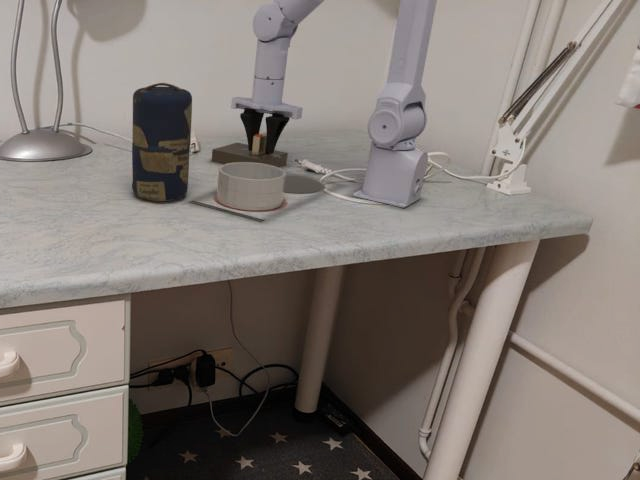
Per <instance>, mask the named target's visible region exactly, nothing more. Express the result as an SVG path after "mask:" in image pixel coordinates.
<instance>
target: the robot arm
mask: <svg viewBox="0 0 640 480" xmlns="http://www.w3.org/2000/svg"><path fill="white" fill-rule="evenodd" d="M324 2H325V0H273V2H272V3H271V4H270V3H269V4H268V3H267V4H263V5H261V6H259V8H258V9H257V10H256V12H255V14H254V16H253V19H252V30H253V34H254V36H255V37H256V38H257V41H256V49H255V50H256V51H255V52H256V53H255V61H254V70H253V71H254V72H253V73H254V74H253V83H252V91H251V97H243V96H234V97H231V103H230V108H231V109H233V110H234V109H235V110H237V109H239V110H243V112H241V113H240V114H239V118H240V120H241V122H242V124H243V127H244V130H245V134H246V140H247V145H248V148H249V151H252V147H253V137H254V136H255V134H260V131H261V127H262V122H263V119H264V116H265V114H268V115H269V116H266V117H265V128H266V129H265V130H266V133H267V137H266V146H265V154H267V155H269V154H272V153H274V150H276V146H277V143H278V141H279V139H280V137H281V134H282V132H283V131H284V129H285V127H286V126H287V125H288V123H289V122H290V119H292V120H300V119H302V116H303V109H304V107H303V106H298V105H292V104H289V103H285V102H283V94H284V89H285V88H284V86H285V80H286V79H285V78H286V71H287V64H288V63H287V62H288V55H289V48H290V46H291V41H292V38H293V37H294V36H295V34H296V33H297V30H298V29H299V28H298V27H299V24H301V23H302V22H303V21H304V20H305V19H306V18H307V17H308V16H309V15H310V14H312V13H313V12H314V11H315V10H316V9H317V8H318V7H319V6H321V5H322V4H323V3H324ZM437 2H438V0H400V1H399V7H398V11H397V19H396V25H395V30H394V36H393V43H392V47H391V49H392V50H391V55H390V59H389V60H390V61H389V66H388V74H387V79H386V84H385V86H384V87H383V89H382V90H381V92H380V93H379V95H378V97H377V99H376V104H375V108H374V111H372V114H371V115H370V117H369V119H368V121H367V134H368V137H369V138H370V140H371V141H370V142H371V143H370V148H369V153H368V159H367V163H366V169H365V174H364V179H363V184H362V188H361V189H359V190H356V191H355V192H353V193H352V196H353V197H355V198H360V199H364V200H369V201H373V202H376V203H381V204H386V205H389V206H394V207H399V208H402V209H403V208H407V207H408V206H410V205H411V204H413V203H415V202H417V201H418V200H420V199H422V196H421V193H422V188H423V185H424V181H425V177H426V171H427V169H428V168H427V167H428V161H429V154H428V152H426V151H425V150H424V151H423V150H419V149H418V148H416V146H417V138H418V137H419V136H420V135H422V133H423V132H424V131H425V129H426V127H427V123H428V115H427V111H426V100H427V94H426V92H425V90H424V89H423V86H422V81H423V76H424V71H425V67H426V61H427V56H428V55H427V54H428V49H429V44H430V39H431V34H432V29H433V23H434V19H435V18H434V17H435V12H436V7H437Z"/></svg>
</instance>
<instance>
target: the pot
mask: <svg viewBox="0 0 640 480" xmlns="http://www.w3.org/2000/svg"><path fill="white" fill-rule="evenodd" d="M286 175H287V172H286V170H284V169H283V168H282V167H276V166H273V165H268V164H263V163H254V162H235V163H228V164H221V165H220V166H219V167H218V171H217V186H216V194H217V201H218V202H220V203H221V204H223V205H225V206H228V207H231V208H236V209H242V210H252V211H261V210H270V209H275V208H277V207H279V206H281V204H282V201H283V199H284V194H285V193H284V187H285V179H286Z"/></svg>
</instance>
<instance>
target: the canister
mask: <svg viewBox="0 0 640 480" xmlns="http://www.w3.org/2000/svg"><path fill="white" fill-rule="evenodd" d="M192 116H193V96H192V93H191V92H190V91H188V90H187V89H184V88H181V87H179V86H176V85H174V84H171V83H168V82H158V83H154V84H151V85H148V86H145V87H140V88H138V89H136V90H135V91H134V92H133V94H132V144H131V157H132V158H131V166H132V169H131V170H132V183H131V189H132V192H133V194H134V195H135V196H137V197H139V198H141V199H144V200H148V201H155V202H168V201H174V200H178V199H181V198H183V197H184V196H186V194H187V192H188V187H189V174H190V173H189V170H190V151H191V150H190V148H191V140H192V139H191V136H192V119H193V118H192Z"/></svg>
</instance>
